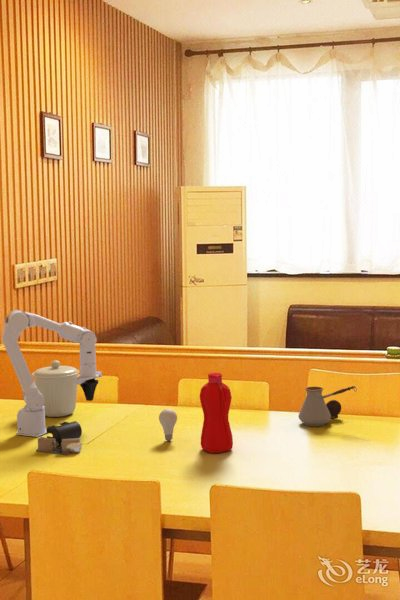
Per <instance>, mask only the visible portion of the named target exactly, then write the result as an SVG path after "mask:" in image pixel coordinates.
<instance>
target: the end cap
mask: <svg viewBox="0 0 400 600" xmlns="http://www.w3.org/2000/svg"><path fill="white" fill-rule="evenodd" d="M46 430H47V433H46V434H51V435H52V436H48V435H47V436H46V438H57V439H58V441H59V445H58V446H57V447H56V448H59V447H61V443H62V439H72V438H80V439H81V437H82V432H83V431H82V425H81V424H80V422H78V421H76V420H74V421H70V422H68V421H63V422H60V423H59V425H53V424H52V425H48V426H47V427H46Z"/></svg>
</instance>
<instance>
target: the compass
mask: <svg viewBox="0 0 400 600" xmlns="http://www.w3.org/2000/svg"><path fill="white" fill-rule="evenodd" d="M326 406H327V408H328V410H329V412H330V415H331V418H330V419H335V418H338V416H339V414H340V413H341V412H342V405H341V403H340V402H339V401H338V400H336V399H331V400H329V401H328V402H326Z"/></svg>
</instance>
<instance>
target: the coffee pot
mask: <svg viewBox="0 0 400 600" xmlns="http://www.w3.org/2000/svg"><path fill="white" fill-rule="evenodd" d="M323 390H324V387H321V386H307V387H305V392H306V396H305V398H304V401H303V402H302V403H303V404H302V406H301V407H300V410H299V413H298V415H297V416H298V419H299V420H300V422H301V423H303V424H304V426H309V427H323V426H325V425H327V424H328V422H330V420H331V419H332V418H331V415H330V412H329V410H328V408H327V406H326V404H327V402H325V399H327V398H329V397H331V396H336V395H339V394H342V393H343V394H344V393H345V392H347V391H351V390H353V391H354V392H355V393H356V392H357V391H358V389H357V387H356V386H355V385H354V386H353V385H352V386H347V387H346V388H342V389H339V390H336V391H333V392H332V393H328V394H325V395H322V393H323Z"/></svg>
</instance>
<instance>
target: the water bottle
mask: <svg viewBox="0 0 400 600" xmlns="http://www.w3.org/2000/svg"><path fill="white" fill-rule="evenodd" d="M207 378H208V379H207V380H208V382H207V383H205V384H204V385H203V386H202V387H201V388H200V393H199V402H200V405H201V409H202V414H203V422H202V428H201V434H200V446H201V448H202V450H203V451H206V452H207V453H210V454H219V453H220V454H221V453H225V452H230V451H231V450H232V449H233V446H234V441H233V433H232V428H231V426H230V425H231V424H230V422H229V412H230V409H231V403H232V398H233V397H232V391H231V389H230V387H229V386H228V385H227V384H226V383H224V382H223V374H222V373H221V372H209V373H208V377H207Z"/></svg>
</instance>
